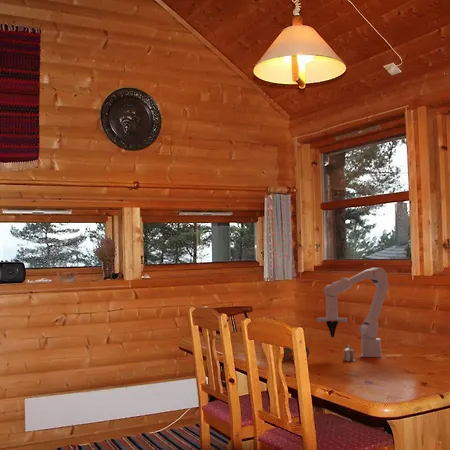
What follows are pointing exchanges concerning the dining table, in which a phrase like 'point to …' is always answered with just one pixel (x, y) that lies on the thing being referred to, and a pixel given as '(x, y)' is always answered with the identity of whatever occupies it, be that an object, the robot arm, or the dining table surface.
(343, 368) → the dining table surface
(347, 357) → the lipped cream column
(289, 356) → the tin
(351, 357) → the latch block
